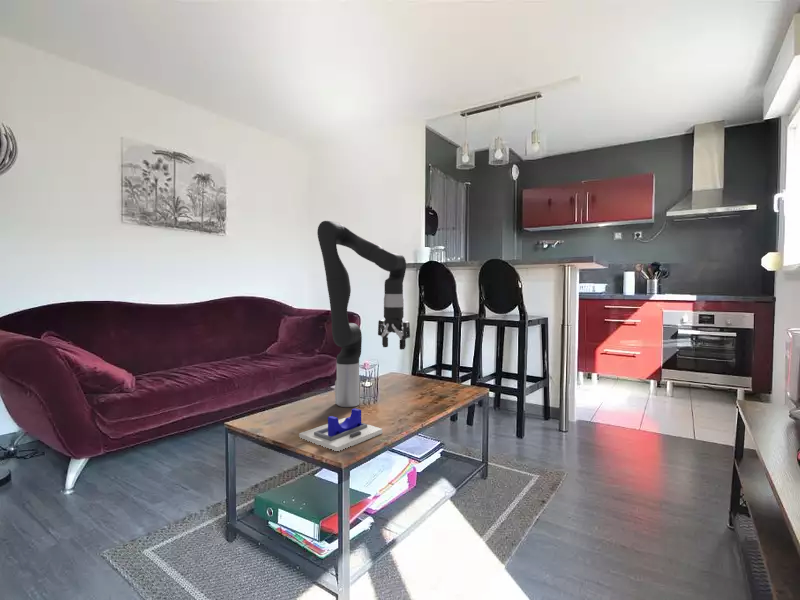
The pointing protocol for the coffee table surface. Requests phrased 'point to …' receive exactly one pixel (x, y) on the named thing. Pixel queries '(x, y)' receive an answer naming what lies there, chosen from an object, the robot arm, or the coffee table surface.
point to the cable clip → (344, 423)
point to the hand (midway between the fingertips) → (393, 348)
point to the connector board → (340, 436)
